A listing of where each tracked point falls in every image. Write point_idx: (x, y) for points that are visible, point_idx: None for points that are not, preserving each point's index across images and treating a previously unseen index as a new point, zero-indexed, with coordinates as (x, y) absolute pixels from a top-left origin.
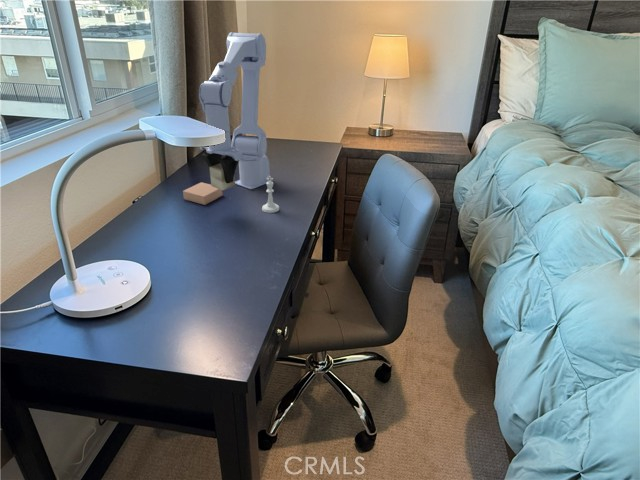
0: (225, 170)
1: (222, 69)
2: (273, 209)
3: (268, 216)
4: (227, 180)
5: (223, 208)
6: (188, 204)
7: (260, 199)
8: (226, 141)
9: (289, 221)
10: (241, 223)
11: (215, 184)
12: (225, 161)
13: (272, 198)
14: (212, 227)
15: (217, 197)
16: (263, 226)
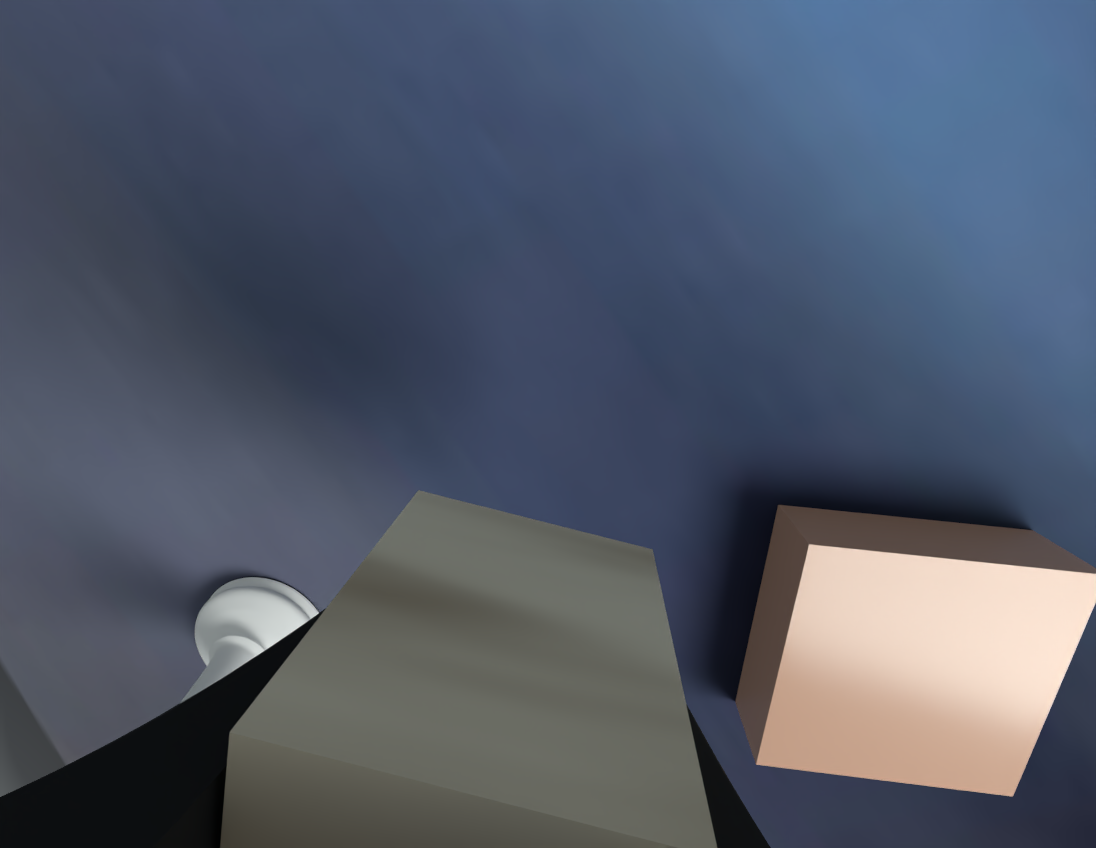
0: (88, 778)
1: None
2: (203, 612)
3: (203, 527)
4: (300, 629)
5: (589, 510)
6: (929, 455)
7: None
8: None
9: (34, 518)
10: (292, 339)
11: (557, 553)
12: None
13: None
14: (452, 155)
15: (748, 652)
16: (121, 370)
